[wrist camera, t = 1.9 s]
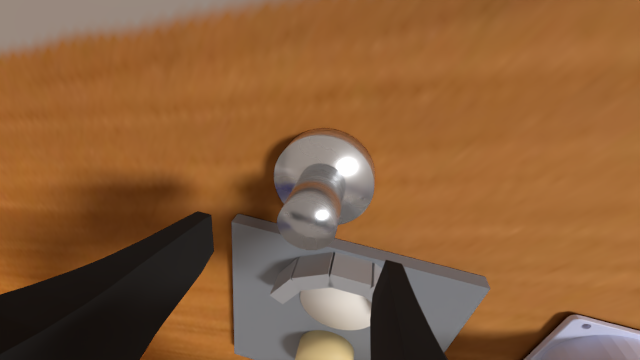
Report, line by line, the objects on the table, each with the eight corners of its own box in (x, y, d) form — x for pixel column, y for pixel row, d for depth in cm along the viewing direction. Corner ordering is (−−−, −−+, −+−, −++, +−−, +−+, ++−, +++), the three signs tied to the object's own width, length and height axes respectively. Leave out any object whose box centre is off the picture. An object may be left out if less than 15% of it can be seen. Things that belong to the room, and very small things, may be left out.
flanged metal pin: (386, 139, 15) (388, 188, 11) (362, 220, 18) (355, 286, 14) (285, 118, 16) (245, 155, 11) (278, 200, 19) (244, 256, 14)
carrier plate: (485, 276, 18) (504, 323, 16) (404, 394, 28) (407, 437, 25) (238, 213, 20) (213, 244, 17) (238, 344, 29) (222, 378, 26)
